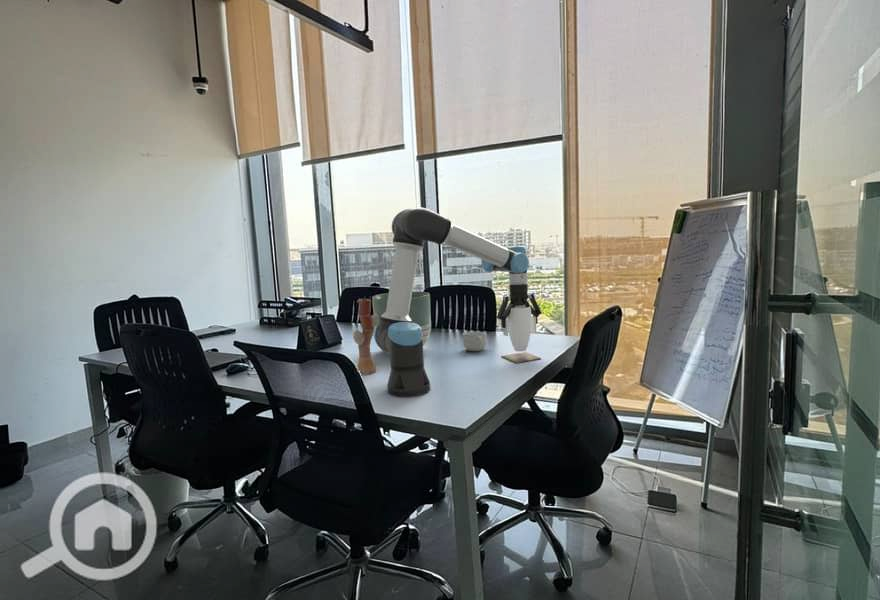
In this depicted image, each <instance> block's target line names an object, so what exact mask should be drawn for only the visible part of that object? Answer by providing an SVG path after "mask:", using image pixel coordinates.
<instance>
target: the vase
mask: <svg viewBox="0 0 880 600" xmlns="http://www.w3.org/2000/svg"><path fill="white" fill-rule="evenodd" d="M356 303H357V304H359V311H358V312H359V313H358V317H359V320H360V324H361V327H362V331H360V330H358V329H355V330H354V331H353V335H352V337H353V341H354V342H355V344H357V347H358V354H359V357H358V364H357V369H358V370H359V371H360V373H361V375H362V374H363V375H364V374H365V375H364V376H367V375H366V374H368V375H372V373H373V374H375V373H376V371H377V369H376V365H375V362H374V359H373V358H372V354H371V341H372V339H373V336H374V333H375V326H376V325H377V323H378V315H377V314H376V313H375V314H374V313H373V314H371V306H372V300H371V299H370V298H360V299H358V300H357V301H356ZM361 375H360V376H361ZM363 375H362V376H363Z"/></svg>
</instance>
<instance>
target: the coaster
mask: <svg viewBox="0 0 880 600" xmlns="http://www.w3.org/2000/svg"><path fill="white" fill-rule="evenodd" d="M501 358H502V359H504V360H506V361H509V362H511V363H513V364H521V363H527V362H532V361H539V360H542V358H541V357H539V356H536V355H534V354H531V353H529V352H527V351H522V352H519V353H518V352H517V353H511V354H505V355H501Z"/></svg>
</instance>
